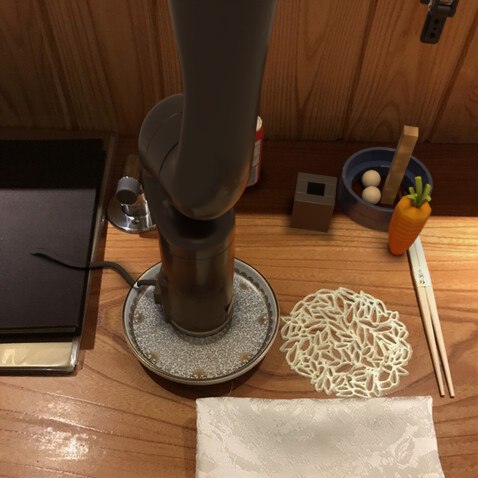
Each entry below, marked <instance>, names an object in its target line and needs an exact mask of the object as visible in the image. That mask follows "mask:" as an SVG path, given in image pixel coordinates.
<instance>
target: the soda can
mask: <svg viewBox="0 0 478 478" xmlns="http://www.w3.org/2000/svg"><path fill="white" fill-rule="evenodd" d="M263 140H264V126H263V120H262V118H261V117H260V116H259V115H258V120H257V131H256V141H255V151H254V159H253V166H252V170H251V175H250V178H249V181H248V183H247V185H246V187H245V188H248V187H251V186H254V185H256V184H257V183H258V182H259V179H260V176H261V164H262V152H263V143H264V141H263Z"/></svg>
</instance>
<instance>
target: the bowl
mask: <svg viewBox="0 0 478 478" xmlns="http://www.w3.org/2000/svg"><path fill="white" fill-rule="evenodd" d="M396 149H397V148H393V147H385V146H375V147H373V146H372V147H368V148H363V149H361V150H359V151H356V152H355V153H353V154H352V155H350V156H349V157H348V158H347V159H346V161H345V162H344V165H343V167H342V169H341V173H340V177H339V181H338V187H337V190H336V198H337V202H338V206H339V208H340V209H341V211H342V212H343V213H344V214H345V215H346V216H347V217H348V218H349V219H350V220H351V221H352V222H355V223H356V224H357V225H359V226H361V227H363V228H366V229H369V230H372V231H377V232H384V233H385V232H386V233H389V226H390V222H391V219H392V216H393V213H394V210H395V208H390V207H381V206H378V205H376V204H375V205H372V204H370V203H368V202H366V201H364V200H363V199H362V197H360V196H359V195H358V194H356V192H354V191H353V189H352V186H354V184H355V183H356V182H357V181H359V180H362V177H363V175H364V174H365V173H366V172H367V171H370V170H373V171H376V172H377V173H378V174H379V175H380V177H384V178H387V175H388V172H389V169H390V166H391V163H392V160H393V157H394V154H395V152H396ZM415 177H421V181H422V194H421V197H422V195H423V192H424V189H425V186H426V184H429V185H430V186H431V189H430V192H429V194H428V196H430V197H431V194H432V191H433V189H434V188H433V187H434V185H433V181H434V180H433V178H432V175H431V173H430V171H429V169H428V168H427V167H426V166H425V164H424V163H423V162H422V161H421V160H420V159H418V158H417V157H415V156H414V155H411V157H410V160H409V163H408V165H407V168H406V171H405V173H404V176H403V179H402V181H401V184H400V185H402V187H404V188H405V189H406V190H407V192H408V193H409V195H411V193H410V190H409V187H413V188H414V192H415V194H416V184H415Z"/></svg>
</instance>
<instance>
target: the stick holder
mask: <svg viewBox="0 0 478 478" xmlns="http://www.w3.org/2000/svg"><path fill="white" fill-rule="evenodd" d="M337 183H338V177H336V176H329V175H323V174H316V173H306V172H300V171H298V173H297V179H296V183H295V191H294V197H293V202H292V203H293V205H292V209H291V217H290V224H289V228H291V229H298V230H306V231H313V232H319V233H326V234H327V233H329V229H330V226H331V221H332V217H333V215H334V210H335V204H336V196H337Z"/></svg>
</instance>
